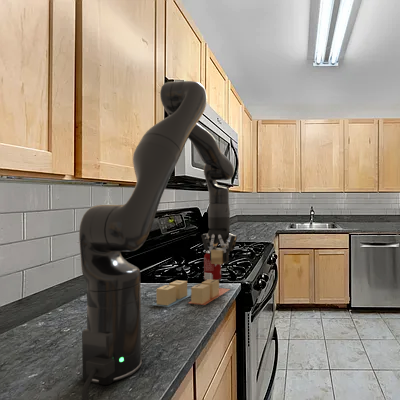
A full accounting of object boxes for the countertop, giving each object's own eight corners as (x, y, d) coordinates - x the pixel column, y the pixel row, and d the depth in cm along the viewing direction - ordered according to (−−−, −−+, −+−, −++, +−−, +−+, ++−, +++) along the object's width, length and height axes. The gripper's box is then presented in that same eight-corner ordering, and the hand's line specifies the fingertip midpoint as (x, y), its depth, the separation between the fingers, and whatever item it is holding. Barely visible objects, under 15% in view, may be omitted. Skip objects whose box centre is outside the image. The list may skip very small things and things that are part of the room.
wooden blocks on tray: (204, 305, 98) (204, 289, 98) (187, 303, 99) (187, 287, 99) (230, 289, 114) (230, 275, 114) (215, 288, 116) (215, 274, 116)
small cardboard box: (221, 264, 110) (221, 250, 110) (211, 263, 111) (211, 249, 111) (227, 261, 114) (227, 248, 114) (217, 261, 115) (217, 247, 115)
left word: (168, 307, 96) (168, 290, 96) (151, 305, 98) (151, 289, 98) (201, 290, 113) (201, 276, 113) (186, 289, 115) (186, 274, 115)
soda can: (211, 283, 122) (210, 253, 122) (200, 280, 126) (200, 251, 126) (224, 279, 127) (224, 251, 127) (214, 277, 131) (214, 249, 131)
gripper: (195, 215, 110) (196, 263, 111) (231, 216, 107) (232, 265, 107) (207, 214, 118) (207, 259, 118) (241, 215, 114) (241, 261, 114)
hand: (219, 262), depth 112 cm, fingers closed on small cardboard box, 4 cm apart
